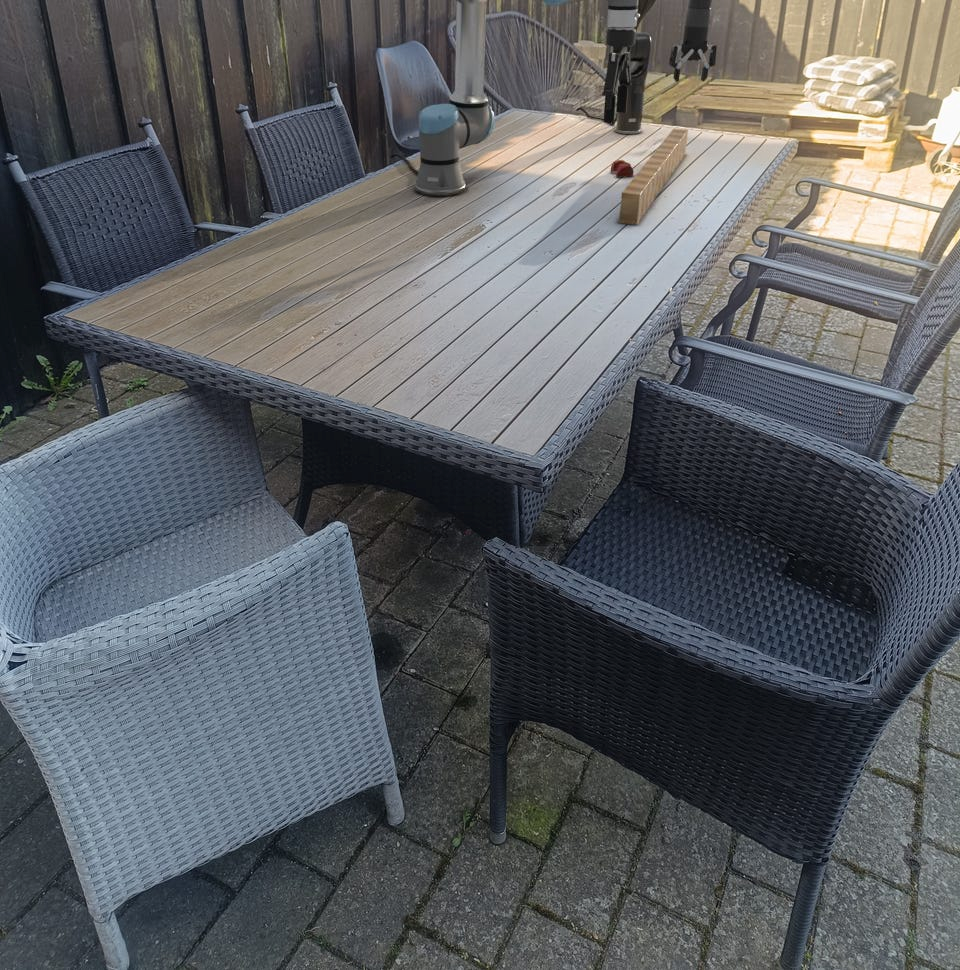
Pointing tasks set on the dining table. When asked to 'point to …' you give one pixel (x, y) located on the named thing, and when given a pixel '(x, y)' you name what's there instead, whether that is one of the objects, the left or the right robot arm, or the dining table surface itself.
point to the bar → (652, 177)
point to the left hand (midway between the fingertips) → (615, 117)
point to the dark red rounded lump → (622, 168)
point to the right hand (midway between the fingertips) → (689, 81)
